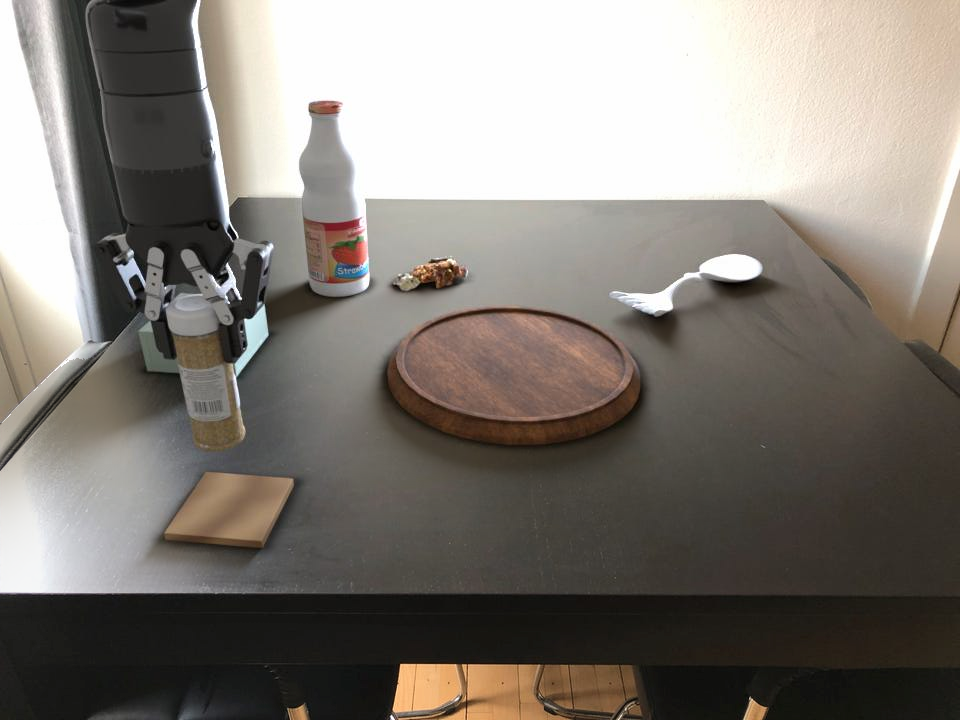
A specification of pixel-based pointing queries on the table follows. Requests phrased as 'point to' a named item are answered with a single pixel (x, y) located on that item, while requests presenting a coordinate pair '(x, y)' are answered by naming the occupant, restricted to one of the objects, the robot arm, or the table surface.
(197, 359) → the sprinkles bottle
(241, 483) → the plate
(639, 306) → the spoon
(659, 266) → the table surface
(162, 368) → the tub
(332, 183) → the fruit juice
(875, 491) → the table surface
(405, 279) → the pastry
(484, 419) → the cutting board
